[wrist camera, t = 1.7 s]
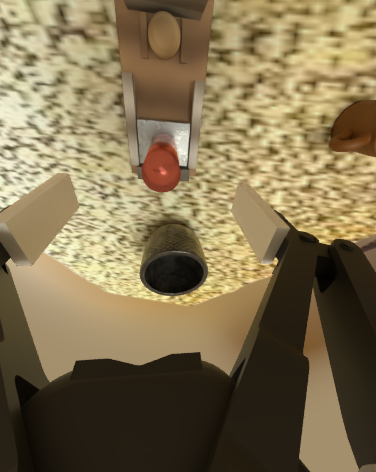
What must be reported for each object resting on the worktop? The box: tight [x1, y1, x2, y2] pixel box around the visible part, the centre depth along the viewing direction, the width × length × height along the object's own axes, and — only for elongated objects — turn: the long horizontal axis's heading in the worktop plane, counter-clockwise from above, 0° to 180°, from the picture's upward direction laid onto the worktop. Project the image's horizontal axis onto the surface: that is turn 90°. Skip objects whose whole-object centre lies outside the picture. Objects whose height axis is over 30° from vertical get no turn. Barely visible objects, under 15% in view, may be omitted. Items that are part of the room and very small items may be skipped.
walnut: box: [148, 11, 180, 59], centre depth 22 cm, size 4×4×4 cm
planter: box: [140, 224, 208, 296], centre depth 42 cm, size 14×14×13 cm
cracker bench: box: [114, 0, 214, 181], centre depth 25 cm, size 24×12×9 cm, turn 175°
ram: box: [137, 117, 190, 192], centre depth 24 cm, size 6×8×16 cm
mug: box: [329, 100, 376, 157], centre depth 30 cm, size 12×8×9 cm, turn 107°
